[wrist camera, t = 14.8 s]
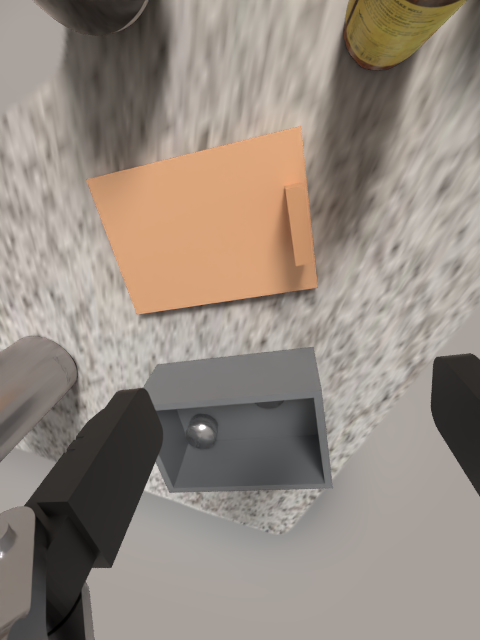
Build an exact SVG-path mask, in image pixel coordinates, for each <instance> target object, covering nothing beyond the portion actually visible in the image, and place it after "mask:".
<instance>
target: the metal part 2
mask: <svg viewBox="0 0 480 640" xmlns="http://www.w3.org/2000/svg"><path fill="white" fill-rule="evenodd" d="M283 401H284V400H281V401H268V402H256V403H255V404H256V405H257V406H259V407H261V408H265V409H272V408H276V407H278V406H280V405H281V404H282V403H283Z"/></svg>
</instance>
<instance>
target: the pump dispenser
mask: <svg viewBox="0 0 480 640" xmlns="http://www.w3.org/2000/svg"><path fill="white" fill-rule="evenodd" d="M33 1H34V2H35V3H36V4H37V5H38V6H39V7H40V8H41V9H42V10H44V11H45V12H46V13H47V14H49V15H50V16H51V17H52V18H54V19H55V20H56V21H58V22H59V23H61V24H62V25H64V26H66V27H67V28H69V29H71V30H73V31H75V32H78V33H81V34H85V35H90V36H103V35H108V34H111V33H115V32H118V31H121V30H123V29H125V28H127V27H128V26H130V25H131V24H132V23H134V22H135V21H136V20H137V19H138V17H139V16H140V15H141V13H142V12H143V10H144V9H145V7H146V5H147V3H148V1H149V0H33Z"/></svg>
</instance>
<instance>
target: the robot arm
mask: <svg viewBox="0 0 480 640" xmlns="http://www.w3.org/2000/svg"><path fill="white" fill-rule="evenodd" d="M76 379H77V369H76V366H75V363H74V361H73V360H72V358H71V356H70V355H69V354H68V353H67V352H66V351H65V350H64V349H63V348H62V347H61V346H59V345H58V344H56V343H55V342H53V341H51V340H49V339H46V338H43V337H38V336H28V337H24V338H22V339H20V340H18V341H17V342H15V343H14V344H12V345H11V346H9V347H7V348H6V349H4V350H3V351H1V352H0V462H1V461H2V460H3V459H4V458H5V457H6V456H7V455H8V454H9V453H10V451H11V450H12V449H13V448H14V447H15V446H16V445H17V444H18V443H19V442H20V441H21V440H22V439H23V438H24V437H25V436H26V435H27V434H28V433H29V431H30V430H31V429H32V428H33V427H34V426H35V425H36V424H37V423H38V422H39V421H40V420H41V419H42V418H43V417H44V416H45V415H46V414H47V412H48V411H49V410H50V409H51V408H52V407H53V406H54V405H55V404H56V403H57V402H58V401H59V400H60V399H61V398H62V397H63V396H64V395H65V394H66V393H67V391H68V390H69V389H70V388H71V387H72V386H73V385H74V384H75V382H76ZM431 411H432V416H433V419H434V422H435V425H436V427H437V428H438V431H439V432H440V434H441V435H442V437H443V438H444V440H445V442H446V443H447V445H448V447H449V448H450V450H451V451H452V453H453V454H454V456H455V458H456V459H457V461H458V462H459V464H460V466H461V467H462V469H463V470H464V472H465V474H466V475H467V477H468V478H469V480H470V481H471V483H472V485H473V486H474V488H475V490H476V491H477V493H478V494H479V496H480V359H478V358H477V357H476V356H475V355H473V354H471V353H469V354H460V355H450V356H441V357H436V358H435V360H434V363H433V377H432V393H431ZM162 443H163V428H162V425H161V422H160V420H159V417H158V415H157V412H156V410H155V408H154V405H153V403H152V400H151V398H150V395H149V393H148V391H147V390H146V389H144V388H138V389H129V390H120V391H118V392H116V394H115V395H114V396H113V398H112V399H111V400H110V402H109V403H108V404H107V406H106V407H105V409H102V410H101V411H100V412H99V413H98V414H96V415H95V416H94V417H93V418H92V419H90V420H89V421H88V422H87V423H86V425H85V426H84V427H83V428H82V430H81V431H80V432H79V434H78V435H77V436H76V440H73V442H72V443H71V444H70V446H69V447H68V448H67V452H66V453H64V454H63V455H62V456H61V458H60V459H59V460H58V462H57V463H56V464H55V466H54V467H53V468H52V470H51V471H50V472H49V474H48V475H47V476H46V478H45V479H44V480H43V482H42V483H41V484H40V486H39V487H38V488H37V490H36V491H35V492H34V494H33V495H32V496H31V498H30V499H29V500H28V502H27V503H26V504H25V505H24V506H22V507H15V508H12V509H9V510H7V511H4V512H2V513H1V514H0V640H95V639H94V630H93V620H92V610H91V601H90V593H89V592H90V591H89V587H88V585H87V583H86V579H87V576H88V575H89V572H90V570H91V568H111V567H112V565H113V563H114V560H115V558H116V555H117V553H118V551H119V548H120V546H121V543H122V541H123V539H124V536H125V534H126V531H127V529H128V527H129V524H130V522H131V519H132V517H133V515H134V512H135V510H136V507H137V505H138V503H139V500H140V498H141V495H142V493H143V491H144V488H145V486H146V483H147V481H148V479H149V476H150V474H151V471H152V469H153V466H154V464H155V462H156V459H157V457H158V454H159V452H160V450H161V447H162Z"/></svg>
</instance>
